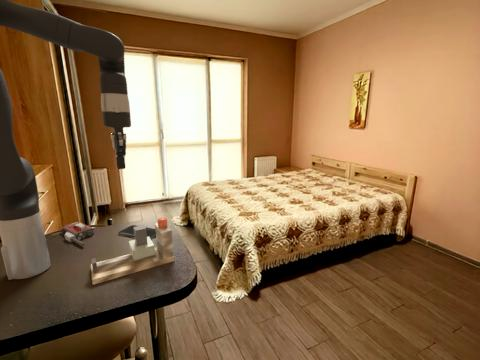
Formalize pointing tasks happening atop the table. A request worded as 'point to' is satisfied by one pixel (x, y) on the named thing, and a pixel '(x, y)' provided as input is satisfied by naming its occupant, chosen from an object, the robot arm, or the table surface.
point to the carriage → (141, 244)
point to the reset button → (162, 223)
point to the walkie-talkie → (77, 232)
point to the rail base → (128, 267)
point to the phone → (130, 232)
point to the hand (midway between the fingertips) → (121, 168)
